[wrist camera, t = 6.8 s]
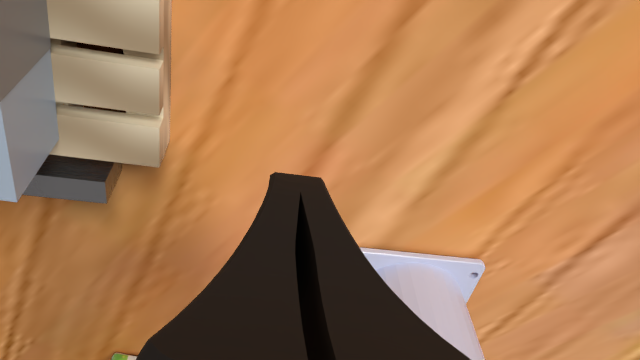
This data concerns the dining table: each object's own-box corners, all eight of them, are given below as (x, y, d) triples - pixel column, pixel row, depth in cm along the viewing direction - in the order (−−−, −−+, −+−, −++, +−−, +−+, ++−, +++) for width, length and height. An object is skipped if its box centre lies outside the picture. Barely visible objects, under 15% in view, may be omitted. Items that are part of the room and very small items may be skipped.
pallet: (170, 136, 24) (159, 169, 22) (-38, 109, 22) (-71, 141, 20) (174, -100, 18) (159, -86, 16) (-108, -156, 16) (-166, -149, 14)
